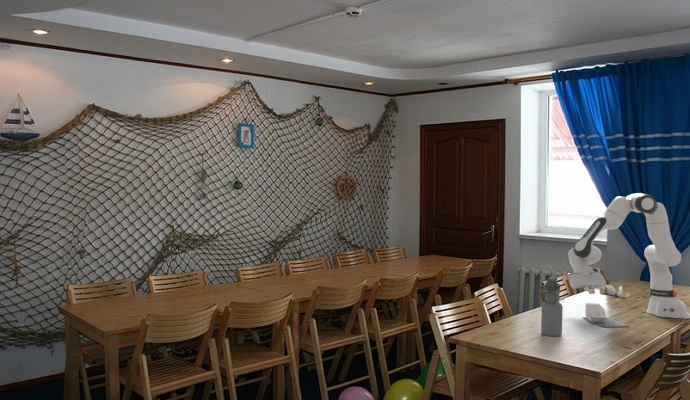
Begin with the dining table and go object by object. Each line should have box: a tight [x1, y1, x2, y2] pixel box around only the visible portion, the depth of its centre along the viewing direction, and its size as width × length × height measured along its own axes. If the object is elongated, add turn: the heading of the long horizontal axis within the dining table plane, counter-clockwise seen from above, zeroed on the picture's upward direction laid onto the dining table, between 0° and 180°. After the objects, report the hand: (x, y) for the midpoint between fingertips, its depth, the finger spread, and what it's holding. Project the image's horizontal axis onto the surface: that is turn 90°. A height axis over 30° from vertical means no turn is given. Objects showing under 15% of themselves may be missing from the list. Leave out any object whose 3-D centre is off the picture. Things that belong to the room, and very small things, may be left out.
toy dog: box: [599, 280, 631, 299], centre depth 395 cm, size 12×19×9 cm, turn 38°
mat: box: [582, 316, 630, 329], centre depth 321 cm, size 20×14×1 cm
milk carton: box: [584, 302, 607, 323], centre depth 324 cm, size 7×7×19 cm
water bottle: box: [540, 276, 564, 337], centre depth 295 cm, size 10×10×28 cm
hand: (592, 293), depth 333 cm, fingers closed
